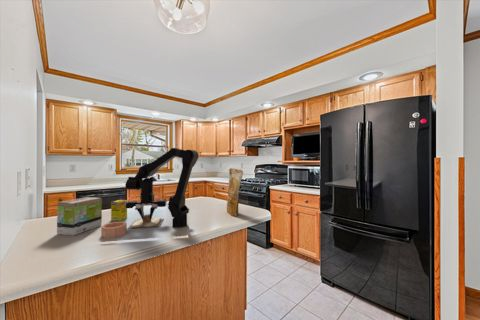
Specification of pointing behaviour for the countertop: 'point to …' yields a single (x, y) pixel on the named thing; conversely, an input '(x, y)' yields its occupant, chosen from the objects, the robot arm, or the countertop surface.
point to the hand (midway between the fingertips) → (147, 220)
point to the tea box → (79, 215)
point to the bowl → (113, 229)
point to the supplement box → (118, 210)
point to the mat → (147, 226)
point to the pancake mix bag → (233, 191)
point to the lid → (146, 222)
